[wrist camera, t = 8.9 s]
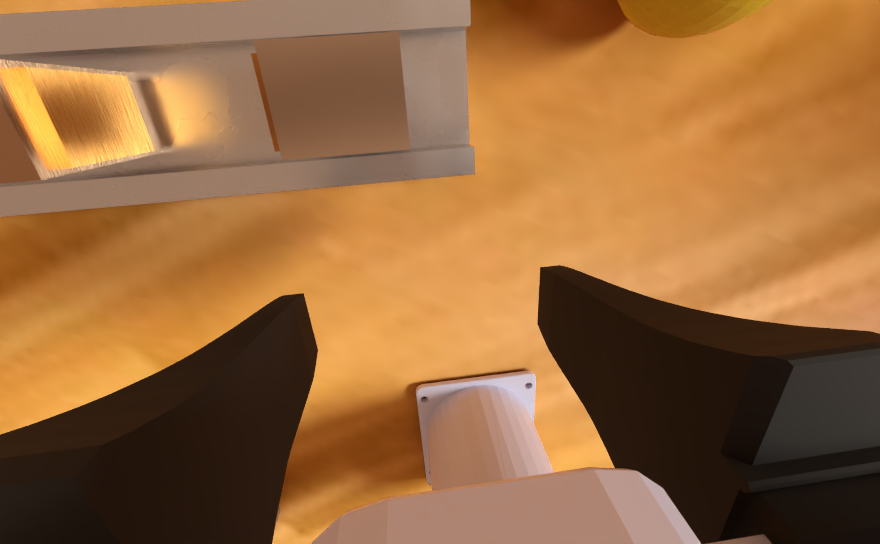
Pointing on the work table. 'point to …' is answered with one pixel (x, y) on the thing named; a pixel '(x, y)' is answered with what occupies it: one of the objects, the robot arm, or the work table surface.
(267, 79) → the brown rectangular block
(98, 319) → the work table surface
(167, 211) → the work table surface
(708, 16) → the lemon
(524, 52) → the work table surface
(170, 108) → the rail
